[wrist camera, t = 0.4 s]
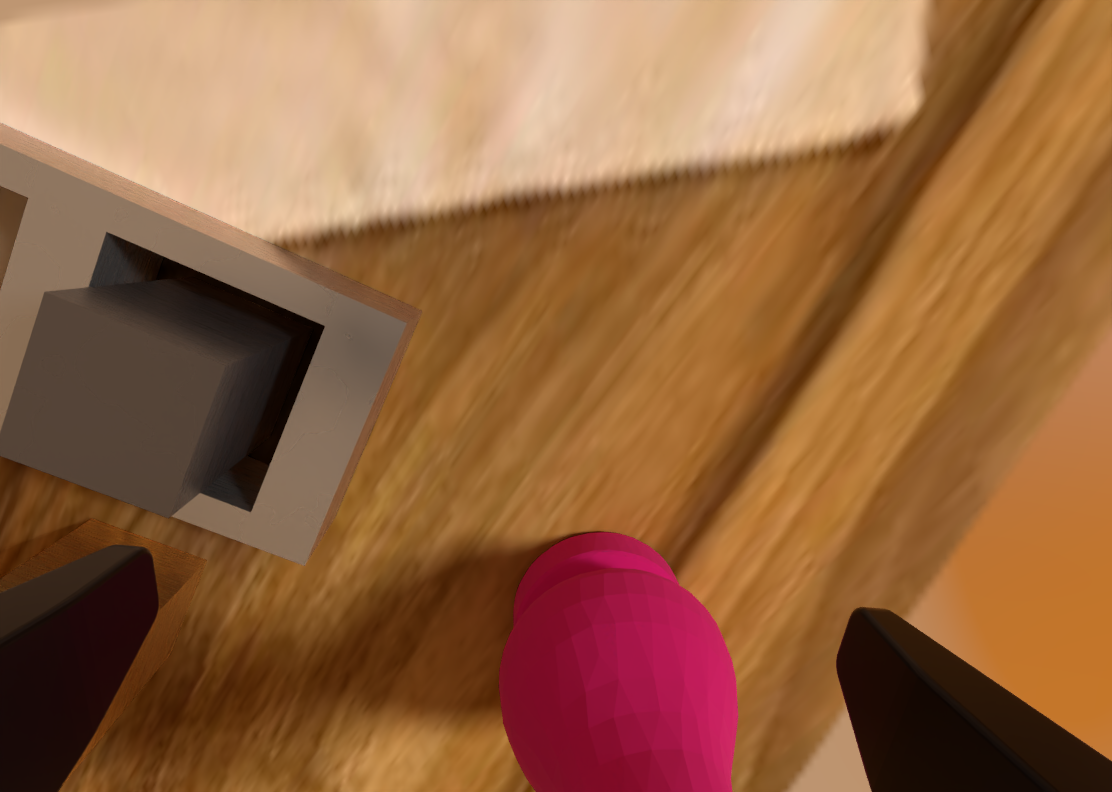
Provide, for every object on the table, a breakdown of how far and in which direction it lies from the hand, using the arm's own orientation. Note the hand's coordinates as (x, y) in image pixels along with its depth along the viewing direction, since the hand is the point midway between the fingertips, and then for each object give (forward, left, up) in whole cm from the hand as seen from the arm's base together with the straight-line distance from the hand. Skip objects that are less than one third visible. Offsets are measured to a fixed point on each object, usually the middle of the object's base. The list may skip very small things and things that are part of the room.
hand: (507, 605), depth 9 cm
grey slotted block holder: (-11, +7, -15) cm, 19 cm away
